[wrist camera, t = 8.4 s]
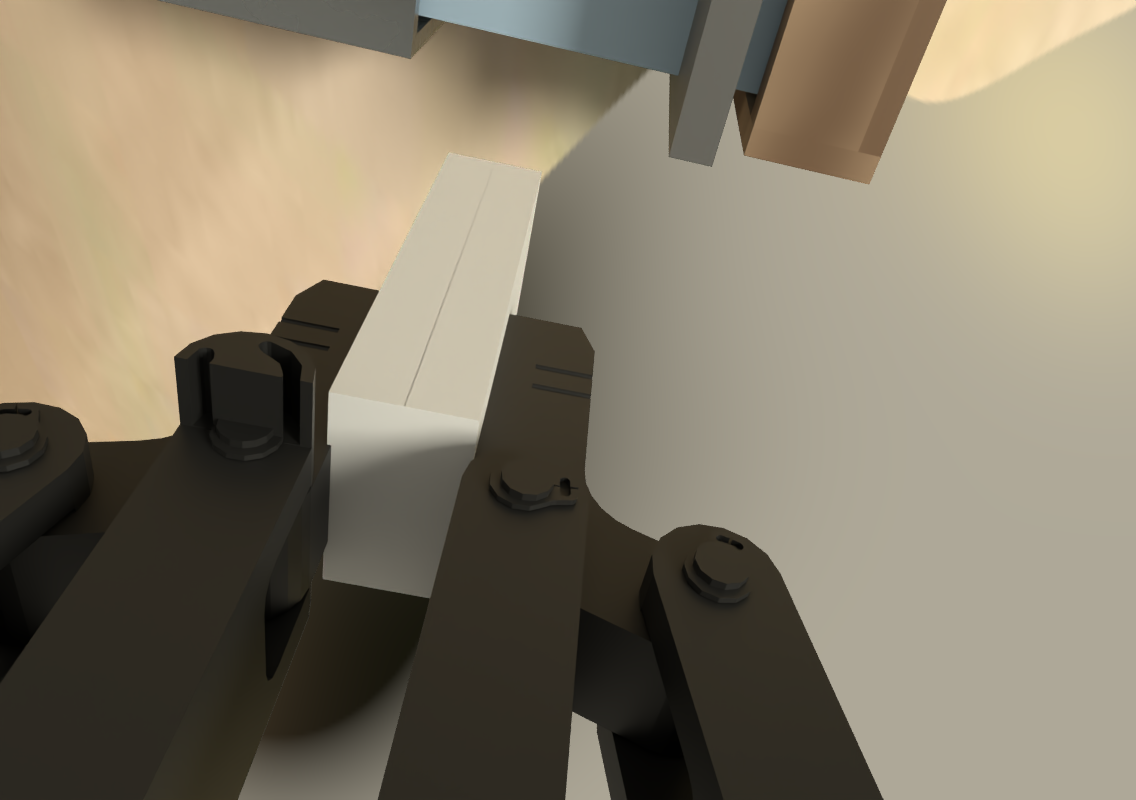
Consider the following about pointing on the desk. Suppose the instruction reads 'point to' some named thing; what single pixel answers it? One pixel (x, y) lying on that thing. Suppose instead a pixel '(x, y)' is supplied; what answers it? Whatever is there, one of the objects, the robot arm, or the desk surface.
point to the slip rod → (649, 48)
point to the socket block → (836, 83)
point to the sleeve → (336, 20)
